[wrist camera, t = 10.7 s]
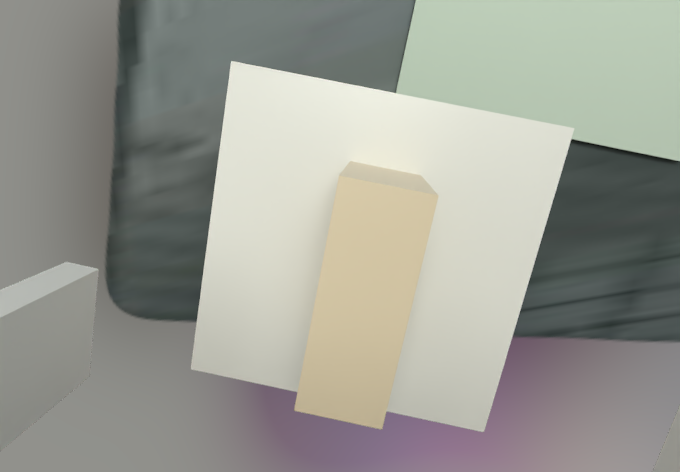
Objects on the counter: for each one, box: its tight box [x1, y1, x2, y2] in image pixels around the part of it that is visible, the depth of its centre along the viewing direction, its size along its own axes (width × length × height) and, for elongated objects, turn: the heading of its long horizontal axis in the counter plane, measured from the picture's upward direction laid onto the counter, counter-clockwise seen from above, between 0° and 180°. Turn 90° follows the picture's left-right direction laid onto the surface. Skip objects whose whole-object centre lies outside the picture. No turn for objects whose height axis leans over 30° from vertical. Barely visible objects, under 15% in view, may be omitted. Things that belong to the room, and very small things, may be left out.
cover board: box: [191, 61, 574, 432], centre depth 19 cm, size 14×14×7 cm
